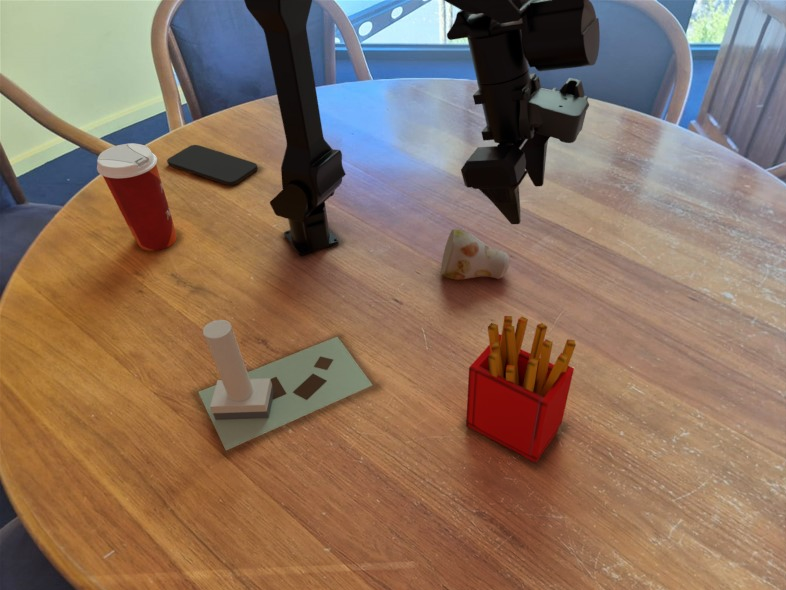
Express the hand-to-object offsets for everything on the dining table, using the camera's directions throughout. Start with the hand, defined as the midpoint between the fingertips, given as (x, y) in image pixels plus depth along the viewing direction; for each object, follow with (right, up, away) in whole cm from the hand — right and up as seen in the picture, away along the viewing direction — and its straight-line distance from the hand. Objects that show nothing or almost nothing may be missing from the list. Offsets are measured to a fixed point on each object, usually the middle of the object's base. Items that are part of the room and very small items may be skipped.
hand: (528, 204), depth 77 cm
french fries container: (-2, -27, -5) cm, 28 cm away
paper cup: (-55, -1, +18) cm, 58 cm away
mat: (-29, -23, -2) cm, 37 cm away
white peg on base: (-33, -25, -4) cm, 42 cm away
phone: (-53, +14, +33) cm, 64 cm away
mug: (-6, -7, +15) cm, 18 cm away
